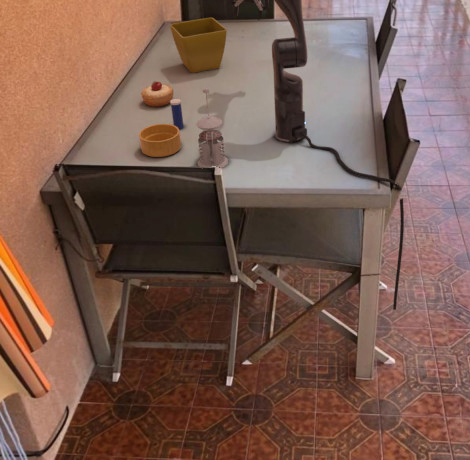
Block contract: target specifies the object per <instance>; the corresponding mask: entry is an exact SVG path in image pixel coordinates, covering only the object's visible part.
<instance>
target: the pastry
mask: <svg viewBox="0 0 470 460" xmlns="http://www.w3.org/2000/svg"><path fill="white" fill-rule="evenodd" d="M140 93H141V94H140V95H141V98H142V100H143V102H144V104H145V105H147V106H148V107H152V108H160V107H164V106H167V105H169V104H170V101H171V100H172V99H174V89H173V87H172V86H171V85H169V84H167V83H164V84H163V83H162V82H160V81H153V82H152V84H151V85H149V86H148V87H145V88H144V89H142V91H141V92H140Z"/></svg>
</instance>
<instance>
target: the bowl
mask: <svg viewBox="0 0 470 460" xmlns="http://www.w3.org/2000/svg"><path fill="white" fill-rule="evenodd" d="M180 130H181V129H179V128H178V127H176V126H175V125H174V124H170V123H156V124H152V125H149V126H146V127H144V128H142V129H141V130H140V131H139V133H138V139H139V144H140V145H139V146H140V151H141V153H142V154H144V155H145V156H148V157H154V158H160V157H161V158H162V157H167V156H171V155H174V154H176V153H177V152H178V151H180V149H181V148H182V138H181V131H180Z"/></svg>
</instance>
